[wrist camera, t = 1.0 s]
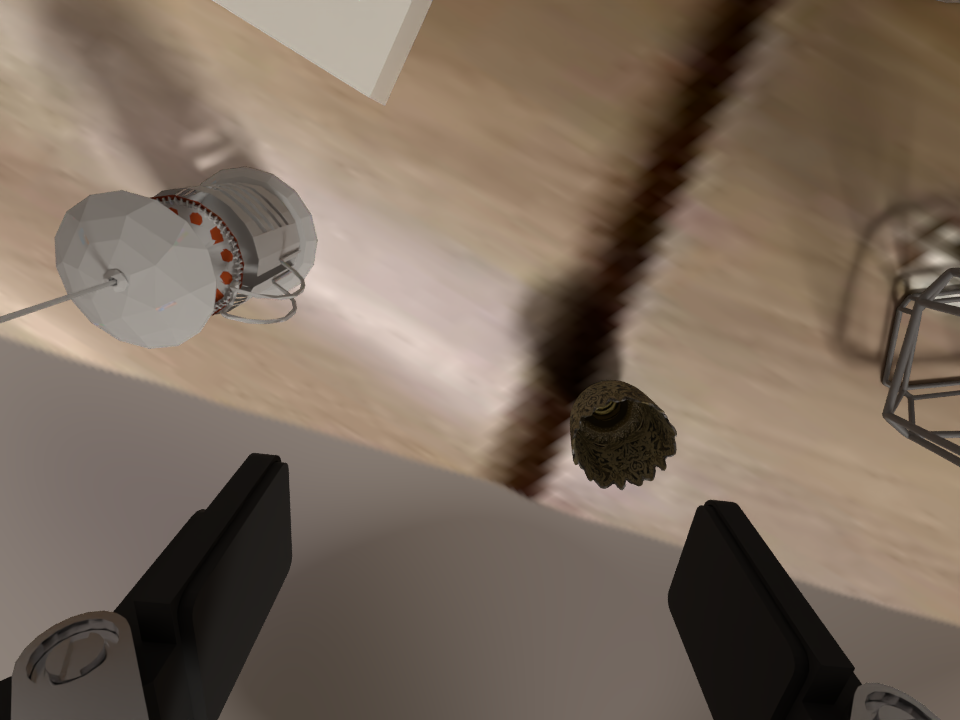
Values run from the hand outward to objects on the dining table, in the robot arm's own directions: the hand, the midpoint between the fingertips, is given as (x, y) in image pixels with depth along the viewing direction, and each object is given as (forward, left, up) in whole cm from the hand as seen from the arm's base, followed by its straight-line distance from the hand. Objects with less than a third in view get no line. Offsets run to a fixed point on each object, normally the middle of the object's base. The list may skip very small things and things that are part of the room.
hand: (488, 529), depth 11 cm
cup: (+5, +14, -30) cm, 33 cm away
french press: (+7, -16, -30) cm, 34 cm away
